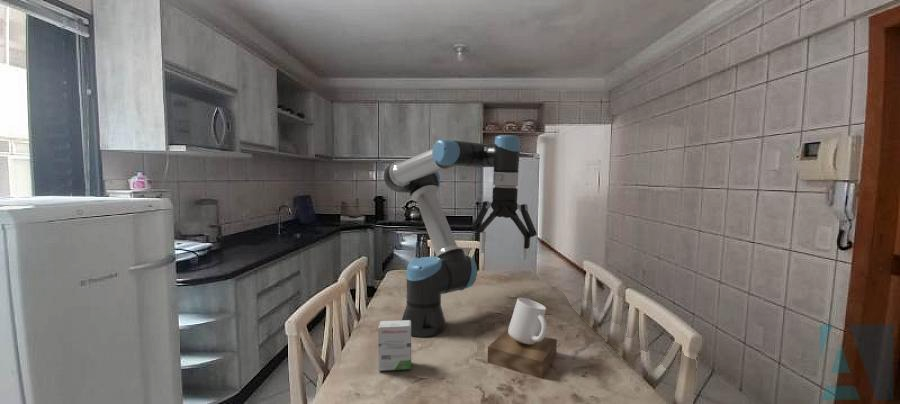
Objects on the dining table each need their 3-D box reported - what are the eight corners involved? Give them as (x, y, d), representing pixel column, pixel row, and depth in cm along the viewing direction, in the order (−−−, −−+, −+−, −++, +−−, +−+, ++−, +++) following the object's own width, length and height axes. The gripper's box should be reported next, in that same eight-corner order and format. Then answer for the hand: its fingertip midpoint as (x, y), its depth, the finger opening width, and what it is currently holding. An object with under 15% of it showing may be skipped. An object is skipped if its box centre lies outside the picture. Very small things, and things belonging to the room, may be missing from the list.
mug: (550, 353, 94) (561, 316, 94) (526, 351, 91) (538, 313, 91) (524, 332, 105) (533, 299, 105) (501, 329, 102) (511, 295, 102)
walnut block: (487, 364, 97) (487, 346, 96) (507, 343, 109) (507, 327, 109) (541, 380, 89) (542, 361, 89) (556, 356, 102) (556, 339, 102)
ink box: (411, 360, 97) (411, 318, 96) (411, 370, 92) (411, 326, 91) (379, 361, 96) (379, 319, 95) (377, 371, 91) (377, 327, 91)
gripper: (463, 185, 110) (461, 251, 112) (542, 189, 97) (538, 264, 99) (474, 185, 117) (471, 248, 118) (549, 188, 104) (545, 259, 105)
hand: (502, 255), depth 109 cm, fingers open, 13 cm apart
